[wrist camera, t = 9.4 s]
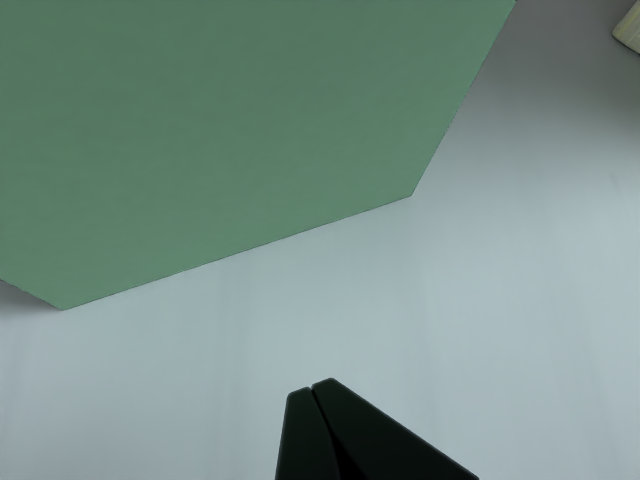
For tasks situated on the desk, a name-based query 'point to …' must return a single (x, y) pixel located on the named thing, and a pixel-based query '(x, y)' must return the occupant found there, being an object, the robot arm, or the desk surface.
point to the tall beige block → (630, 28)
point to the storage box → (213, 126)
